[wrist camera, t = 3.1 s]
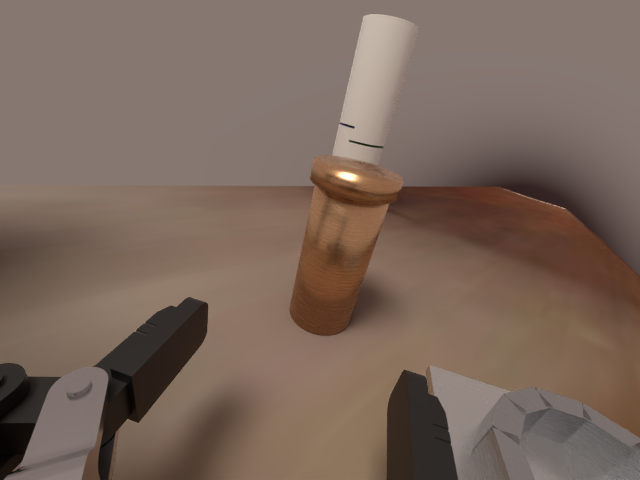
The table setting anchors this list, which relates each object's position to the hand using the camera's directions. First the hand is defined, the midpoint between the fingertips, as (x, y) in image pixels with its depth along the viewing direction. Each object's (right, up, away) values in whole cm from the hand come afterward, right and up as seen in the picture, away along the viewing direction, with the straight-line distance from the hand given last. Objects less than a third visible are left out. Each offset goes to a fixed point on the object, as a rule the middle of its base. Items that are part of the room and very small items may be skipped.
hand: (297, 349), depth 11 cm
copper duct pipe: (+1, -2, +12) cm, 12 cm away
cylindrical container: (+4, +9, +36) cm, 37 cm away
